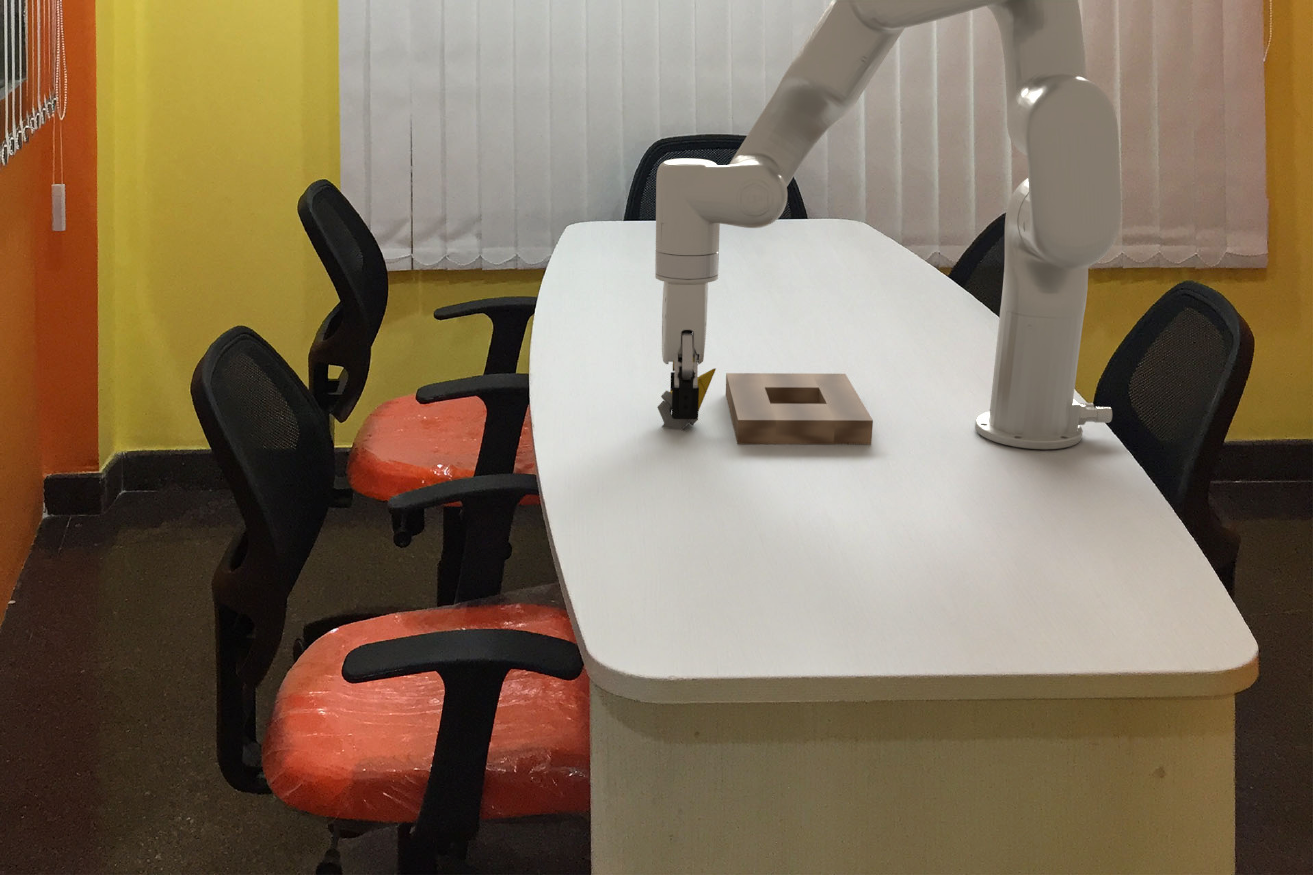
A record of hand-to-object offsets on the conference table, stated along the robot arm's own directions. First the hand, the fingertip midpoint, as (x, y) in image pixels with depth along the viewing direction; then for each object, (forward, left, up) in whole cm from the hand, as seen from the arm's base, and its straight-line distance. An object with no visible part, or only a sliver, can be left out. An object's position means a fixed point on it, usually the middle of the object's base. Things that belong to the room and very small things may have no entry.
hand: (683, 409), depth 149 cm
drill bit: (0, -1, -2) cm, 2 cm away
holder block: (-14, -3, -2) cm, 15 cm away
